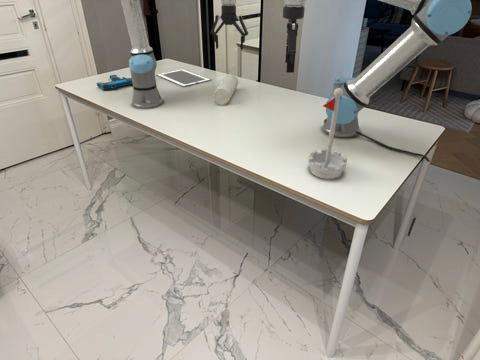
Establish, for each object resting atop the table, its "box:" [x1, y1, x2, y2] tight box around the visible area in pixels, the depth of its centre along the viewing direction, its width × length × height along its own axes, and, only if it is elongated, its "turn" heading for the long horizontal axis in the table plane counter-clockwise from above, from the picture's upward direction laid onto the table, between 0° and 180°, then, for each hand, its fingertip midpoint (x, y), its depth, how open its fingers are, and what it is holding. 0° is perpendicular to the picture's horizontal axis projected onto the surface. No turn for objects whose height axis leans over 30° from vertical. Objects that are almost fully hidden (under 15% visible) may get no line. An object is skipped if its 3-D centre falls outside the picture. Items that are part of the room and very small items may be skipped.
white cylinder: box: [212, 73, 239, 106], centre depth 185 cm, size 26×8×8 cm, turn 170°
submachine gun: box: [95, 74, 133, 91], centre depth 209 cm, size 34×4×25 cm
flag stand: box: [307, 88, 348, 180], centre depth 113 cm, size 13×13×30 cm
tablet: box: [156, 68, 212, 88], centre depth 217 cm, size 32×20×1 cm, turn 41°
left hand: (229, 48), depth 183 cm, fingers open, 13 cm apart
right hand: (289, 67), depth 131 cm, fingers open, 13 cm apart
